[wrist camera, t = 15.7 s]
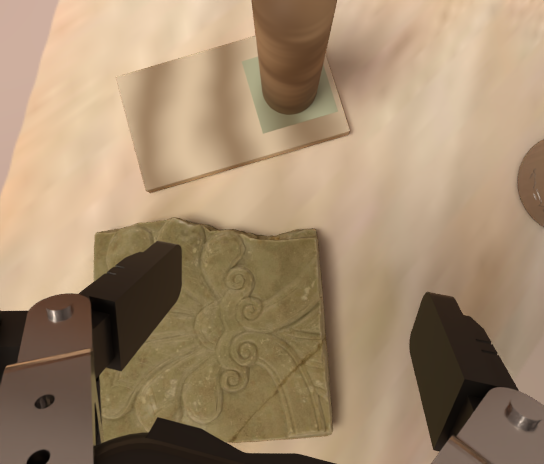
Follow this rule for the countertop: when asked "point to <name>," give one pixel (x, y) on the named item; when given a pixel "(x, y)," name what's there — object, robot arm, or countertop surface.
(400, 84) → the countertop surface
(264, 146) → the birch board
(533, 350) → the countertop surface
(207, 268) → the decorative tile
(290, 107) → the walnut roller
